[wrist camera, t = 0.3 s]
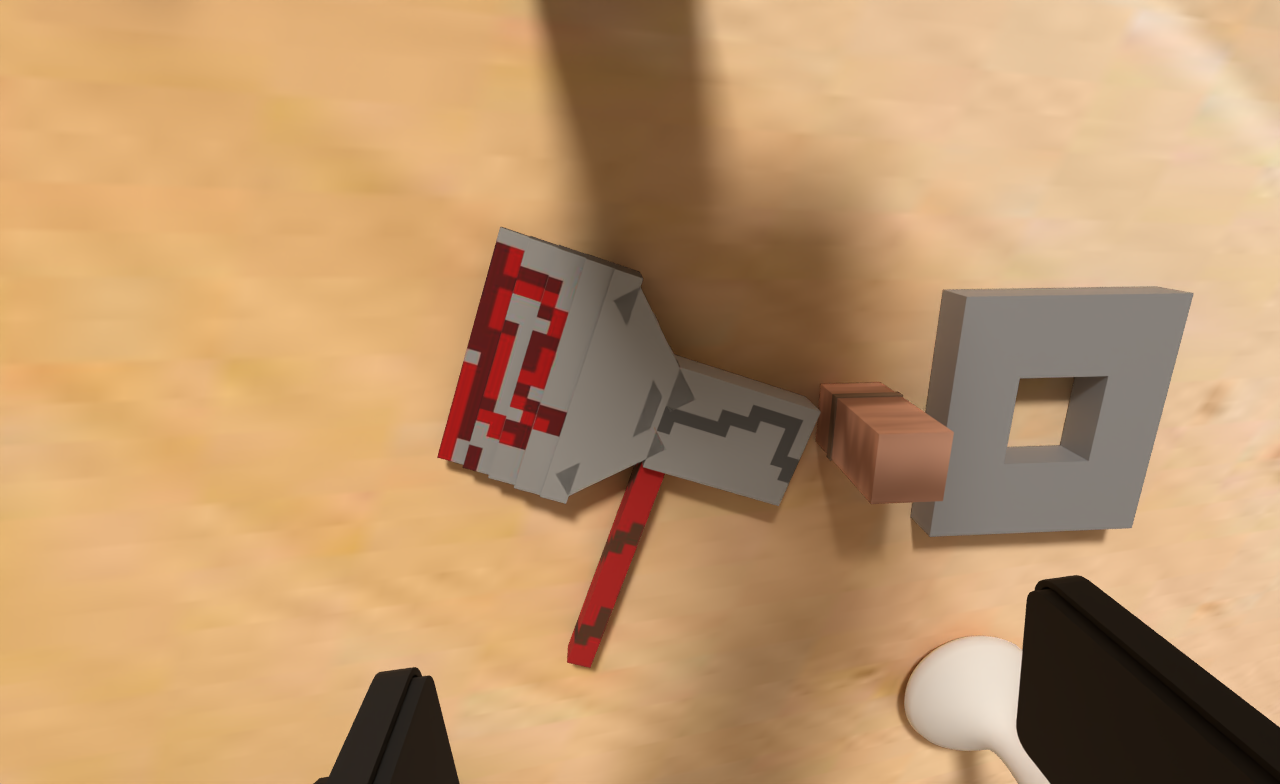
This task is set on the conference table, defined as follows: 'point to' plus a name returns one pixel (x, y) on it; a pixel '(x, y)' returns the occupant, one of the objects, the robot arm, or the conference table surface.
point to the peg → (883, 443)
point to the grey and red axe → (605, 404)
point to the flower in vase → (972, 701)
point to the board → (1097, 413)
